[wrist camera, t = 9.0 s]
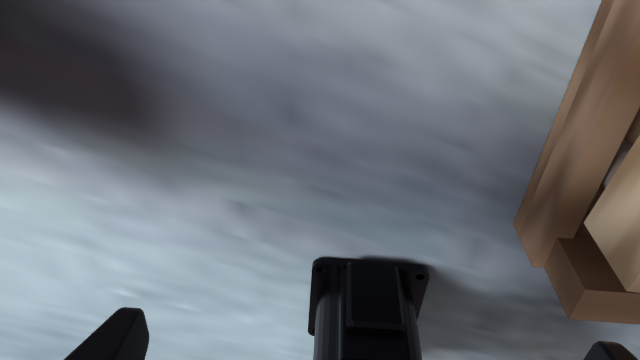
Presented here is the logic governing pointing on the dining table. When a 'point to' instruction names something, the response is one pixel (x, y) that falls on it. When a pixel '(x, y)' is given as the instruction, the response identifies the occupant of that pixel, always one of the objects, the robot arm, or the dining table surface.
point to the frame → (587, 169)
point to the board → (620, 221)
